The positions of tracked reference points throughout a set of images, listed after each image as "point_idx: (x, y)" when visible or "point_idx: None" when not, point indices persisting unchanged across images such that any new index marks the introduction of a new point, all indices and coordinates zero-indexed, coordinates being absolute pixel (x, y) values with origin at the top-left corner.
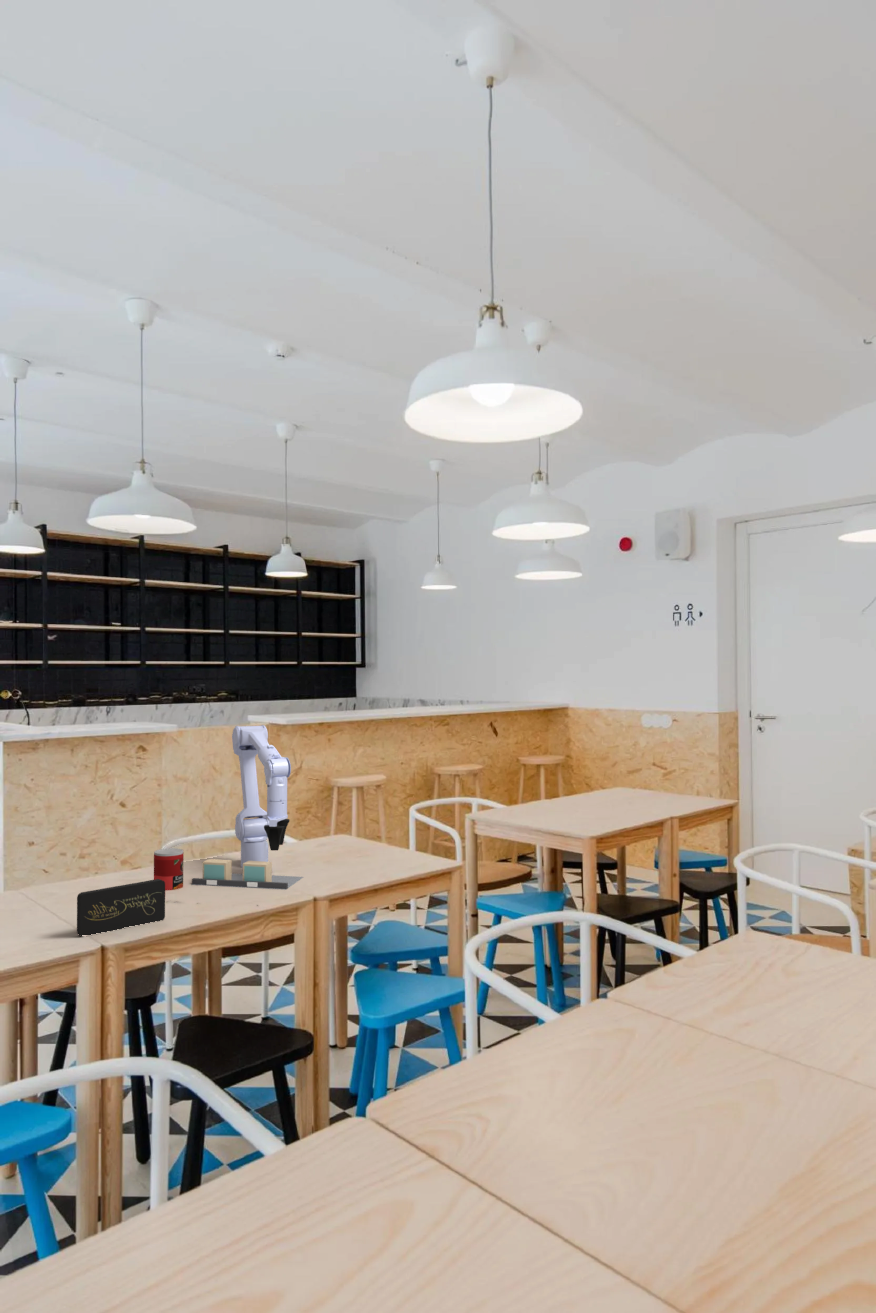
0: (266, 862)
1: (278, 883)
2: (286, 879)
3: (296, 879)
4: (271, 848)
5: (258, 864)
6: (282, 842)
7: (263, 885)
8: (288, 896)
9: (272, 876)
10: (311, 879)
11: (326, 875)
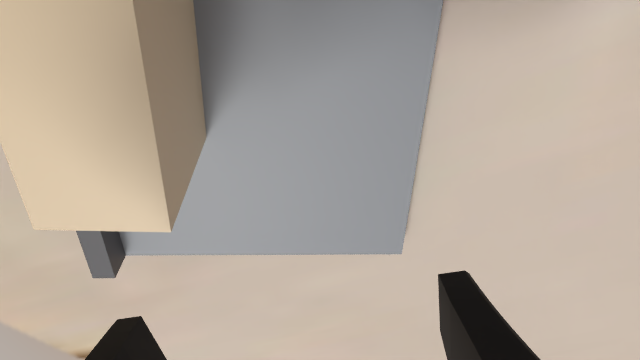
0: (130, 199)
1: (79, 237)
2: (323, 190)
3: (334, 237)
4: (105, 345)
5: (11, 161)
6: (447, 355)
7: None
8: (50, 268)
9: (396, 77)
10: (421, 266)
11: (510, 300)
